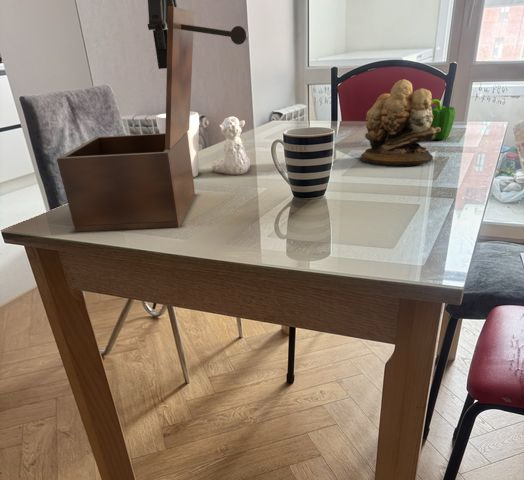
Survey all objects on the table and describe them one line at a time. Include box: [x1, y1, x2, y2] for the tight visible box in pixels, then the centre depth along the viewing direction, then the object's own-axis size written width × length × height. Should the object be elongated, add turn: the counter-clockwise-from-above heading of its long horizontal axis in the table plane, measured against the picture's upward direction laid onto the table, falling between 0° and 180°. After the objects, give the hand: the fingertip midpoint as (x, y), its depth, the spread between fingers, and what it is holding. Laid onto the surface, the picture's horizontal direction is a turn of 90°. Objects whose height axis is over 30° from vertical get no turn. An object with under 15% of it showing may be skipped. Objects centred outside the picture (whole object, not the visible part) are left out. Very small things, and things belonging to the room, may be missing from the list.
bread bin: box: [56, 132, 196, 233], centre depth 92 cm, size 18×20×12 cm
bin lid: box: [165, 6, 249, 150], centre depth 83 cm, size 19×20×11 cm
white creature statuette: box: [211, 115, 251, 176], centre depth 116 cm, size 10×9×12 cm
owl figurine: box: [360, 78, 441, 167], centre depth 115 cm, size 18×12×17 cm, turn 57°
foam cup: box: [155, 111, 200, 178], centre depth 115 cm, size 10×9×13 cm
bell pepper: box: [430, 98, 456, 141], centre depth 136 cm, size 8×8×10 cm
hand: (171, 66), depth 107 cm, fingers open, 13 cm apart
